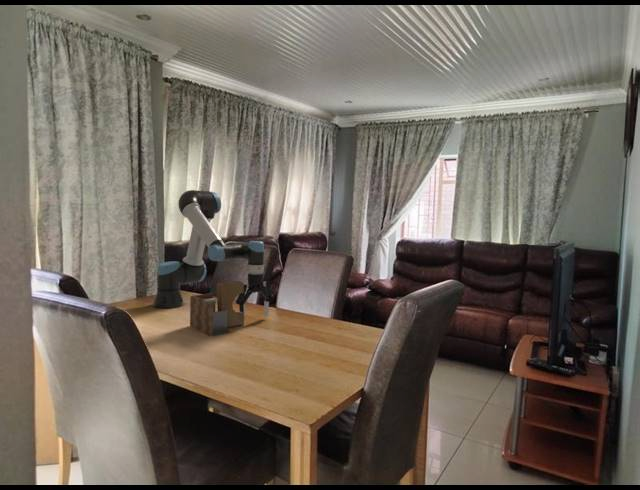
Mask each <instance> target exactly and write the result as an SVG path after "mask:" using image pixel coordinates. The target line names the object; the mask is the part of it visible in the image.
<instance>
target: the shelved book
mask: <svg viewBox="0 0 640 490" xmlns="http://www.w3.org/2000/svg"><path fill="white" fill-rule="evenodd" d="M203 300H206V301H208V302H211V303H213V312H216V302H217V301H216V299H215V298H214V297H213V298H210V299H203Z"/></svg>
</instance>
